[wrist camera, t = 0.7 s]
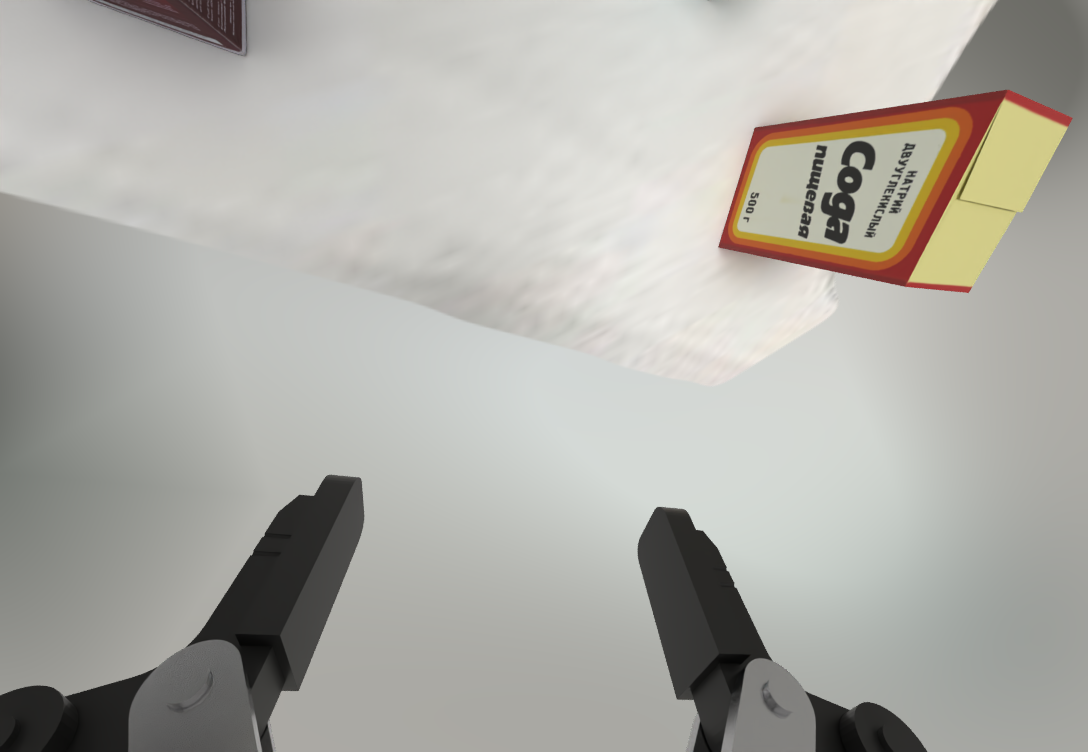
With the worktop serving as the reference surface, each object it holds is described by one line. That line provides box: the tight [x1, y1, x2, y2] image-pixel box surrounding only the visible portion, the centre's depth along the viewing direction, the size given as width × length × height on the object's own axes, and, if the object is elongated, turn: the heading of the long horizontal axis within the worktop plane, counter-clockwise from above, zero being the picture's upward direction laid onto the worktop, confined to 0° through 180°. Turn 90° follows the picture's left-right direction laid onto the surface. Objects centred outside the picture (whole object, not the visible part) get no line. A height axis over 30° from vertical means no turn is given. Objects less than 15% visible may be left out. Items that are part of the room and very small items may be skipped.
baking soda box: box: [719, 90, 1072, 293], centre depth 28 cm, size 10×6×16 cm
